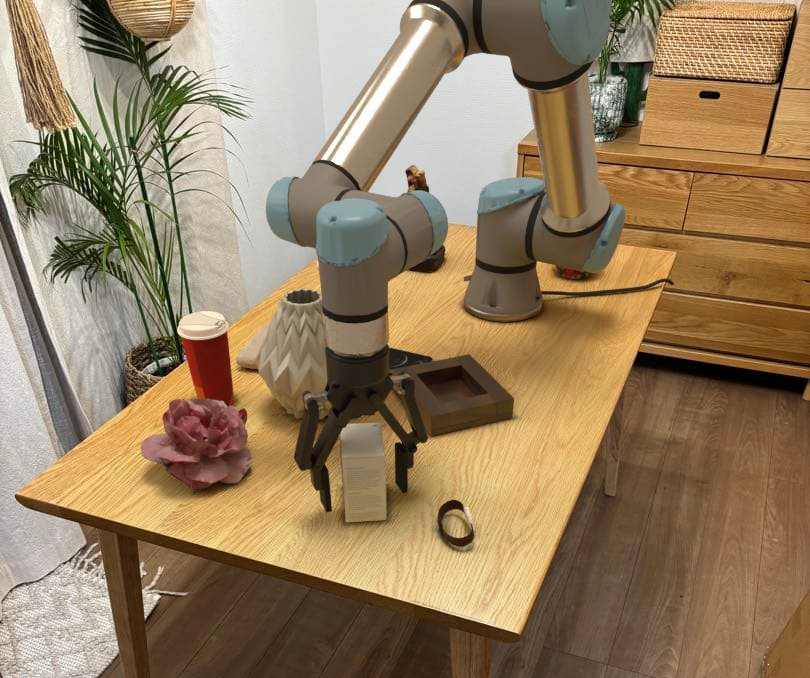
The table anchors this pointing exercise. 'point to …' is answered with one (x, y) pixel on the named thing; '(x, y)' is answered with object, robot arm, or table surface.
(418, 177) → the statue
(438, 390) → the square wooden frame
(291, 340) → the vase
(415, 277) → the table surface
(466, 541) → the watch
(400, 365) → the smartphone
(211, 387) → the paper cup
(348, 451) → the small box
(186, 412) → the flower
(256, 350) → the washcloth
